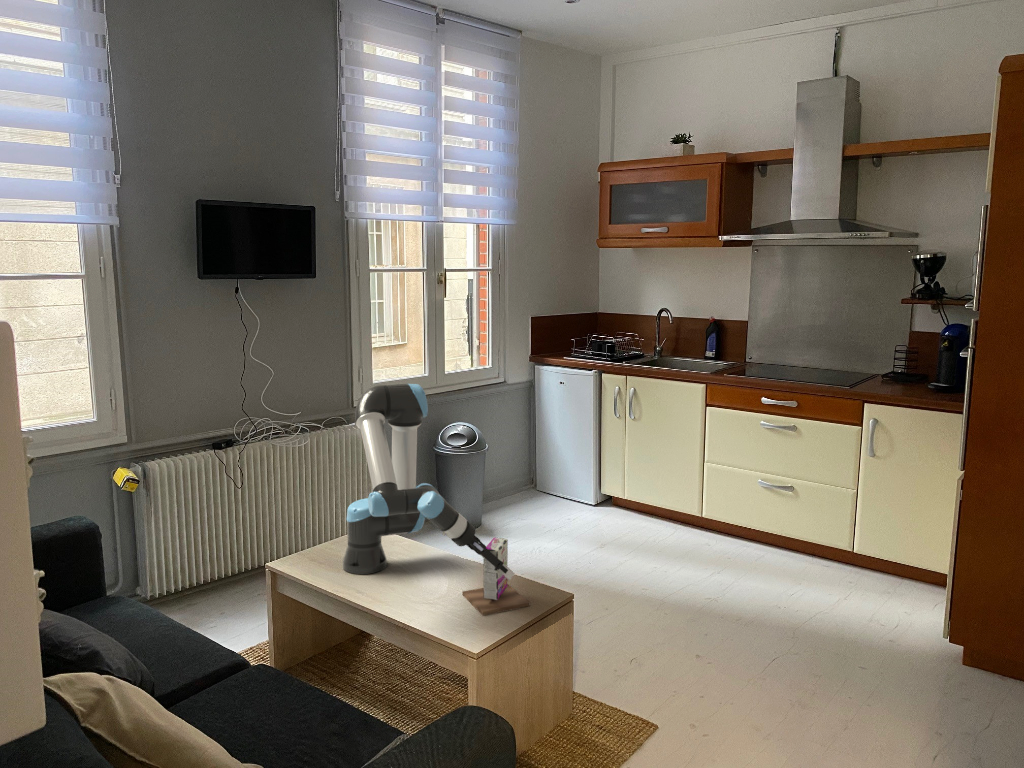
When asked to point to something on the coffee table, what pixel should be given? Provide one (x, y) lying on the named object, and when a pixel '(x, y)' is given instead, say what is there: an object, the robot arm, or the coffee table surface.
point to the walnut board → (488, 606)
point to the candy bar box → (495, 579)
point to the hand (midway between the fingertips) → (503, 569)
